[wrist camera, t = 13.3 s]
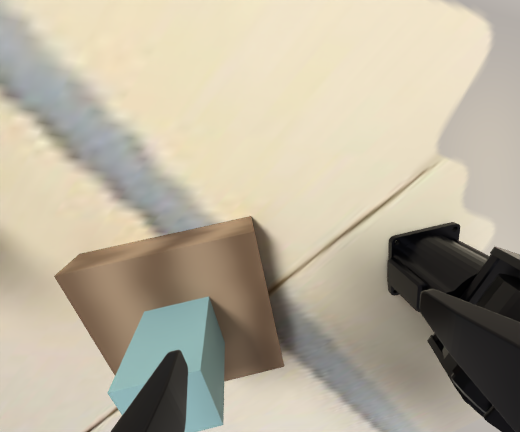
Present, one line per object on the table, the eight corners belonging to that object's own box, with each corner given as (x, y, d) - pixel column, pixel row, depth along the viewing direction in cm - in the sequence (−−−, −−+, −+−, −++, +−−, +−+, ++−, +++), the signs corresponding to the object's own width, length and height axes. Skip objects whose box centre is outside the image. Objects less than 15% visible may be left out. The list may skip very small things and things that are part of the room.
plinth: (251, 216, 20) (254, 231, 17) (278, 339, 25) (284, 366, 22) (79, 254, 19) (54, 276, 17) (143, 372, 25) (132, 404, 22)
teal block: (209, 296, 19) (200, 369, 13) (224, 342, 21) (223, 424, 15) (144, 311, 18) (107, 393, 13) (166, 357, 20) (142, 445, 15)
